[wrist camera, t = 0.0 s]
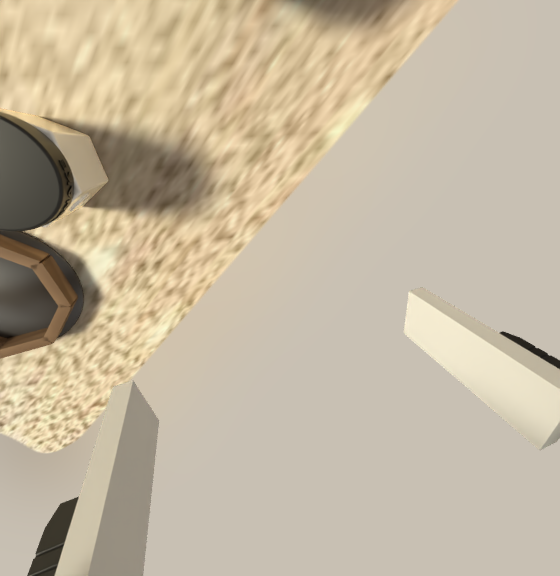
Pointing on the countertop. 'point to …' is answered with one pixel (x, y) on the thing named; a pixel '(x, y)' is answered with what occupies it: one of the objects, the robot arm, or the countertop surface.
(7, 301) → the brown octagonal tray
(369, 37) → the countertop surface
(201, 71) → the countertop surface
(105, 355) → the countertop surface
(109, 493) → the robot arm
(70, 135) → the jar
